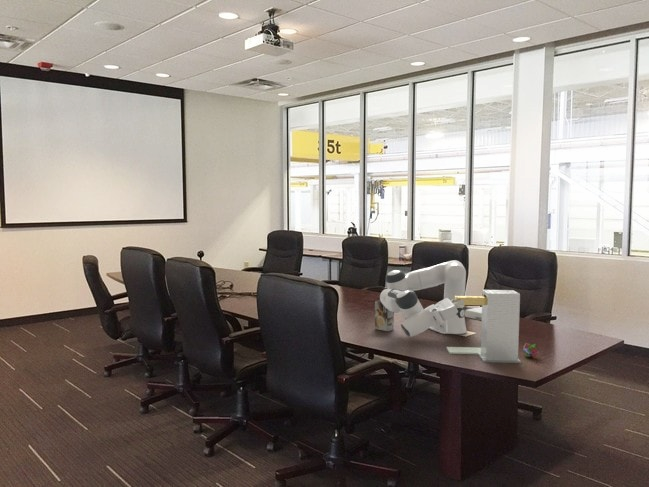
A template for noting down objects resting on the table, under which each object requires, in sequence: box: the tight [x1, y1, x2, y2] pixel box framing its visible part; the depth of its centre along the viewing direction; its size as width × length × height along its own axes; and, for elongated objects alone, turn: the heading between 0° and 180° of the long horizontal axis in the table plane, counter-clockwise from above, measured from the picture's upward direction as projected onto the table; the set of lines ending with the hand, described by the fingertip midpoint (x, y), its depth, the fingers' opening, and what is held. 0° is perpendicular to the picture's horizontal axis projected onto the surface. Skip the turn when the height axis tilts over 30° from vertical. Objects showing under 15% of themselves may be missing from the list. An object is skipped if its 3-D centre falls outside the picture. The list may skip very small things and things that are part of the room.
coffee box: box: [374, 299, 395, 332], centre depth 294 cm, size 9×6×16 cm
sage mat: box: [446, 346, 481, 355], centre depth 251 cm, size 22×9×1 cm, turn 87°
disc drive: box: [464, 306, 482, 321], centre depth 328 cm, size 18×22×5 cm
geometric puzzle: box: [522, 342, 540, 360], centre depth 242 cm, size 7×7×8 cm
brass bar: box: [455, 295, 486, 306], centre depth 237 cm, size 19×4×4 cm, turn 86°
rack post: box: [477, 289, 522, 364], centre depth 238 cm, size 16×11×31 cm
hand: (461, 299), depth 238 cm, fingers closed on brass bar, 3 cm apart
